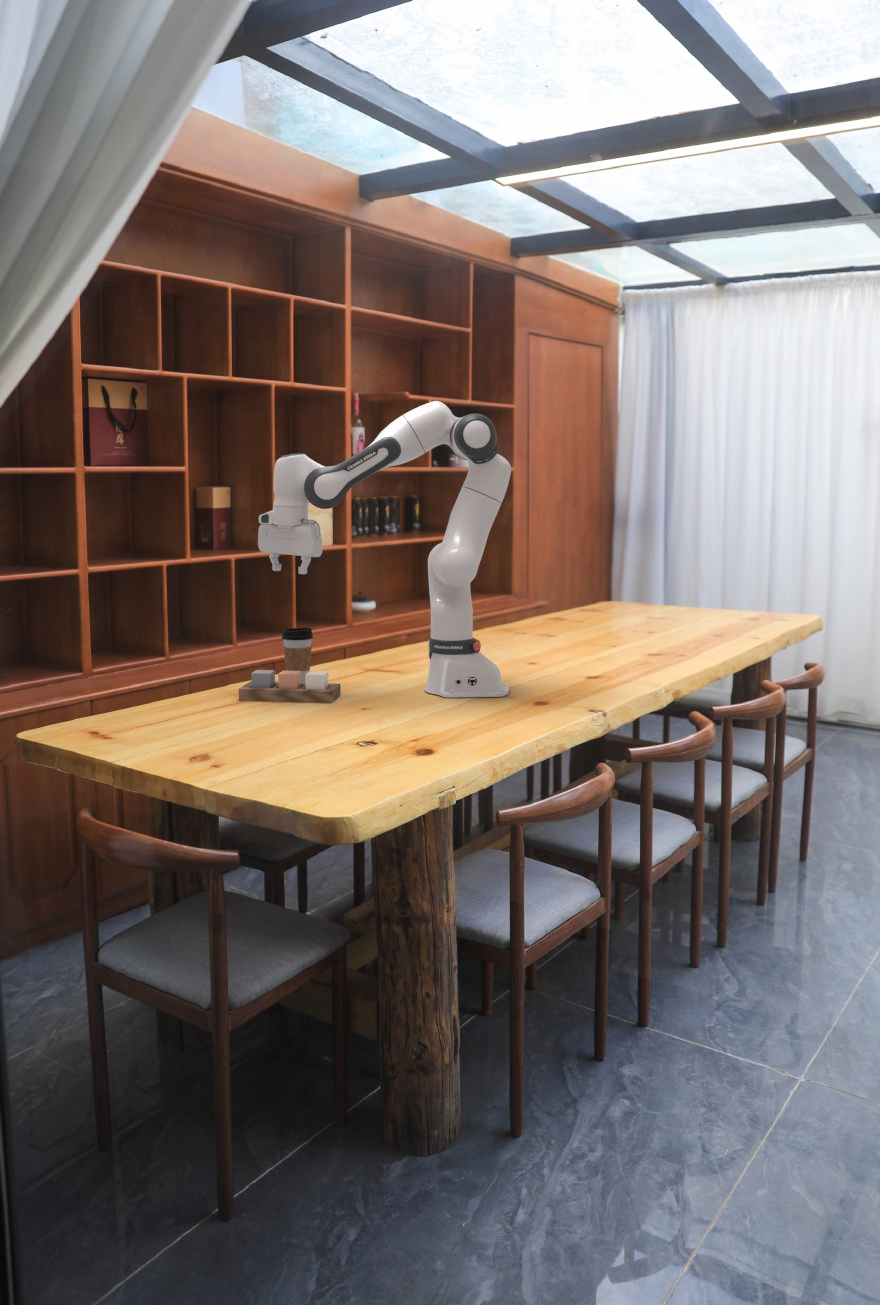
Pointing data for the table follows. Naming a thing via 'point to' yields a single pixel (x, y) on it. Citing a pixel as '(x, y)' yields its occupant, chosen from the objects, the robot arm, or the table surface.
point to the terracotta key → (290, 679)
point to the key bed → (290, 694)
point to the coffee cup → (297, 649)
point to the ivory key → (316, 680)
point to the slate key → (263, 679)
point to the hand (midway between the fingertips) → (289, 572)
